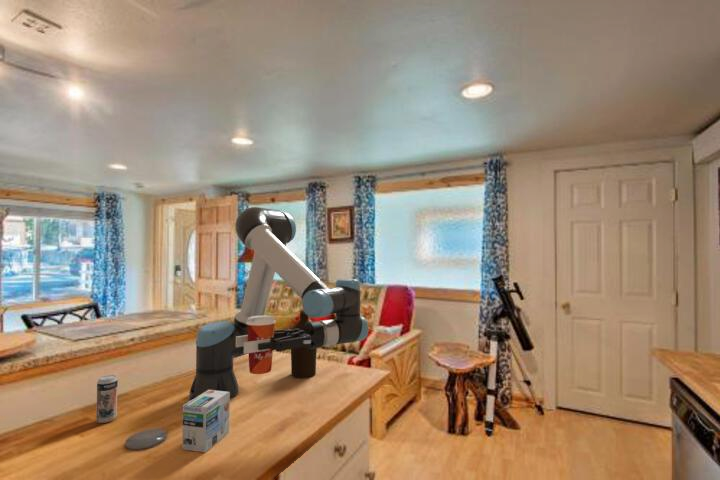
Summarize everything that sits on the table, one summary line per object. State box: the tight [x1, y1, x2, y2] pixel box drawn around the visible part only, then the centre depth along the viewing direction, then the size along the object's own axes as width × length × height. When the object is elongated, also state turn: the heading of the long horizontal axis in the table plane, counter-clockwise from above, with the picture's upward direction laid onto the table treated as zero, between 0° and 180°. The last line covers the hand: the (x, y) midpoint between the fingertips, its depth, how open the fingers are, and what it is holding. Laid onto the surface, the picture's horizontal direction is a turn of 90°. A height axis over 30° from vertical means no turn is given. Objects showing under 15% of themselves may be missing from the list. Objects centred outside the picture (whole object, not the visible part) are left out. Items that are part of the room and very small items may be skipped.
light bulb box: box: [181, 390, 231, 453], centre depth 92 cm, size 11×7×11 cm, turn 168°
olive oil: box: [290, 309, 318, 379], centre depth 143 cm, size 11×11×25 cm
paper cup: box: [246, 315, 277, 375], centre depth 97 cm, size 8×8×14 cm
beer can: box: [95, 374, 119, 424], centre depth 103 cm, size 5×5×12 cm
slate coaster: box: [125, 428, 168, 451], centre depth 92 cm, size 9×9×1 cm
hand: (240, 344), depth 94 cm, fingers closed on paper cup, 7 cm apart
